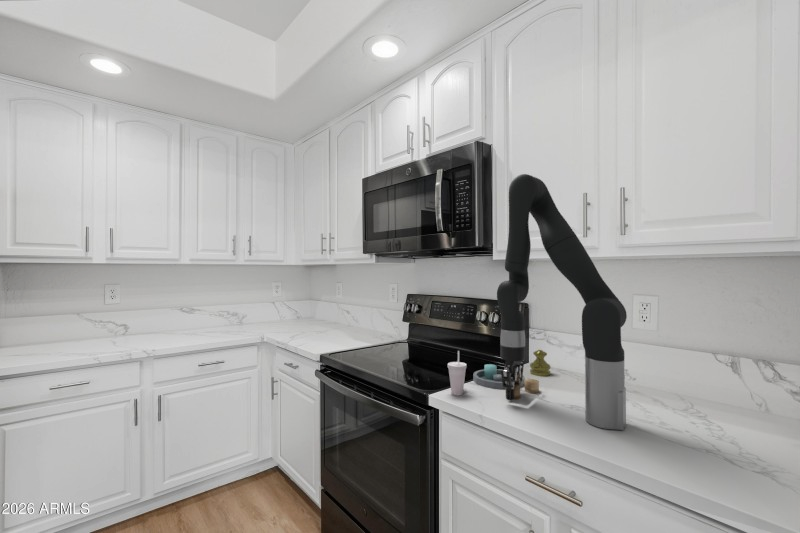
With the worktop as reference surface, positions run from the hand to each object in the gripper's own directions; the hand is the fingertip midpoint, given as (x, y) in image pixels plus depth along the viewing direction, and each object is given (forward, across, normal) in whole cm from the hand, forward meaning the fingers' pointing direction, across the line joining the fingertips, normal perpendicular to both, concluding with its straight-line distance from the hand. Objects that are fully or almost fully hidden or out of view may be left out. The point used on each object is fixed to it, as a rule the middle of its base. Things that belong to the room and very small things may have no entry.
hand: (512, 398), depth 118 cm
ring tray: (0, +13, +10) cm, 16 cm away
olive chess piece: (+1, +32, +1) cm, 32 cm away
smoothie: (+1, -5, +17) cm, 18 cm away
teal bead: (-1, +15, +14) cm, 21 cm away
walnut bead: (+1, 0, 0) cm, 1 cm away
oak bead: (+1, +9, -3) cm, 10 cm away
